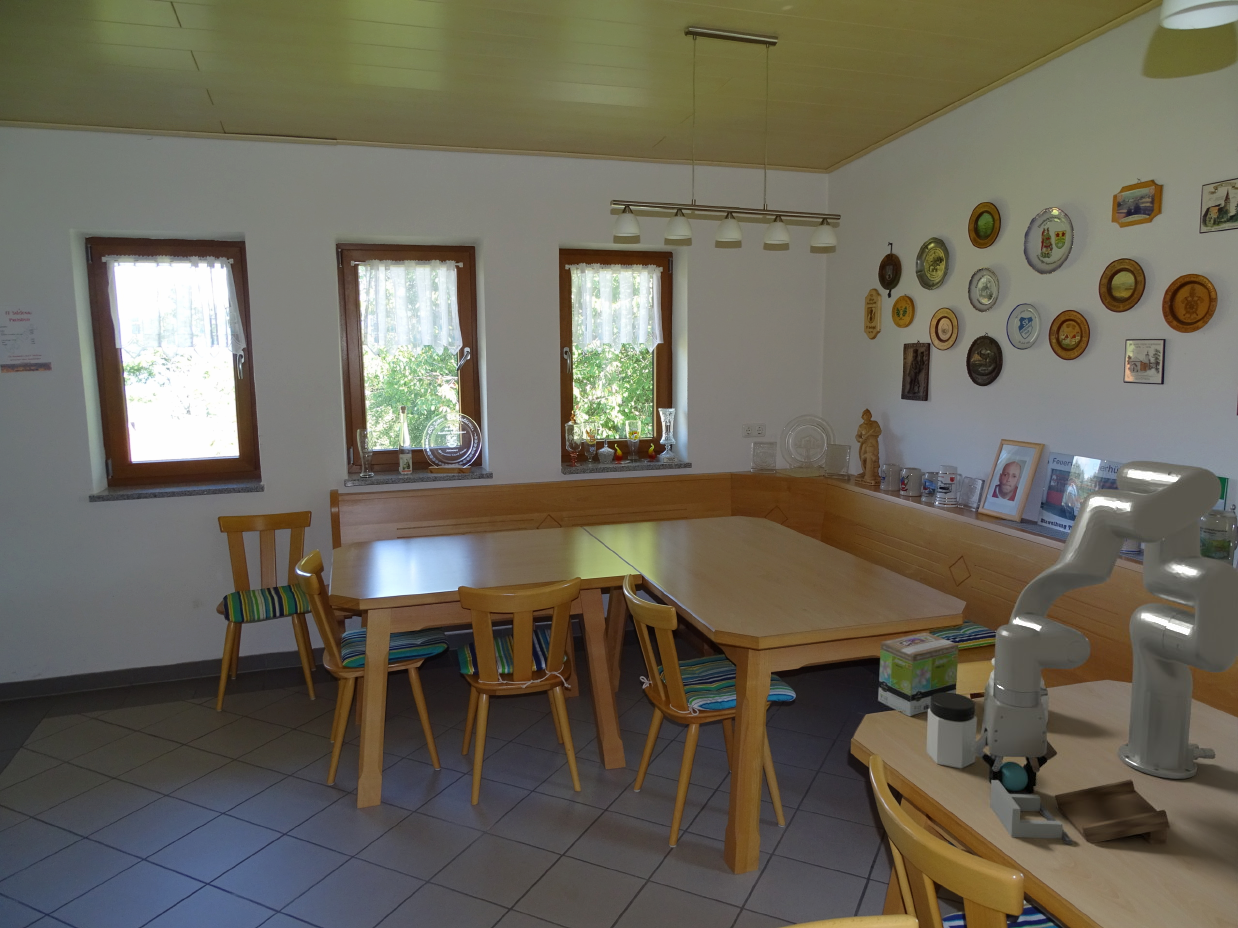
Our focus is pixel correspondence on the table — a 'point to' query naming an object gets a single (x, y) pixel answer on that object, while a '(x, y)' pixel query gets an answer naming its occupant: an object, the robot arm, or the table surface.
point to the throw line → (1050, 818)
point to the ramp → (1113, 813)
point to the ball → (1013, 776)
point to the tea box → (916, 671)
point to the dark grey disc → (1018, 791)
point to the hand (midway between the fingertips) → (1012, 787)
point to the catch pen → (1009, 814)
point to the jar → (951, 729)
